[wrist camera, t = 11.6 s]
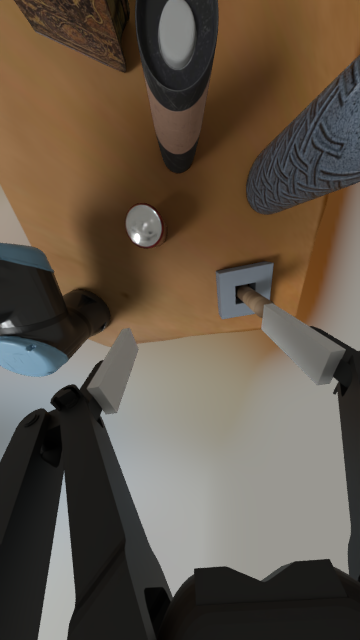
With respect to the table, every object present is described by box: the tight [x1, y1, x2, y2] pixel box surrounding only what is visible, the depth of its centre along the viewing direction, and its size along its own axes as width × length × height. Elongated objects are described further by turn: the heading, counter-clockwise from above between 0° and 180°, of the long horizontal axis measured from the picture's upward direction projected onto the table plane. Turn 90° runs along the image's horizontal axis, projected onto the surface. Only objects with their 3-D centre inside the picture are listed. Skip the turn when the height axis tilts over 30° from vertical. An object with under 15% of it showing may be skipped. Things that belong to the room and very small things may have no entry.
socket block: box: [216, 261, 274, 319], centre depth 43 cm, size 14×14×4 cm
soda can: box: [125, 203, 168, 249], centre depth 32 cm, size 7×7×12 cm
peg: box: [235, 284, 275, 318], centre depth 38 cm, size 4×4×15 cm
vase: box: [246, 55, 360, 215], centre depth 20 cm, size 12×12×28 cm
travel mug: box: [135, 0, 218, 173], centre depth 22 cm, size 8×8×20 cm
